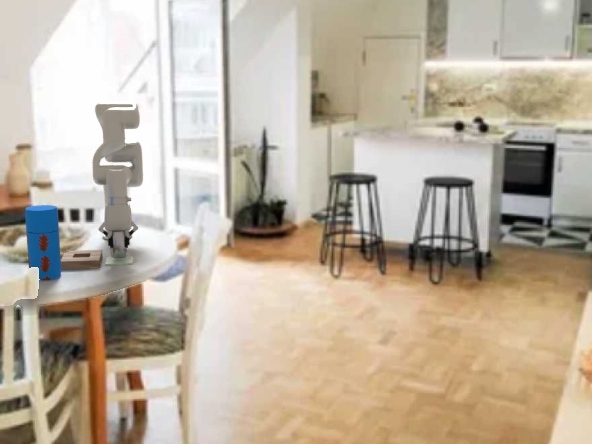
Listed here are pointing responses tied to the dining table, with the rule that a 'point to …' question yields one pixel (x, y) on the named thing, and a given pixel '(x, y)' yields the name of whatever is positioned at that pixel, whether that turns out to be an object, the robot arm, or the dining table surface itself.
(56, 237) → the thermos
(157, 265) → the dining table surface
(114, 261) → the pad
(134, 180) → the robot arm
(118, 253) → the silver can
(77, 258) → the block
